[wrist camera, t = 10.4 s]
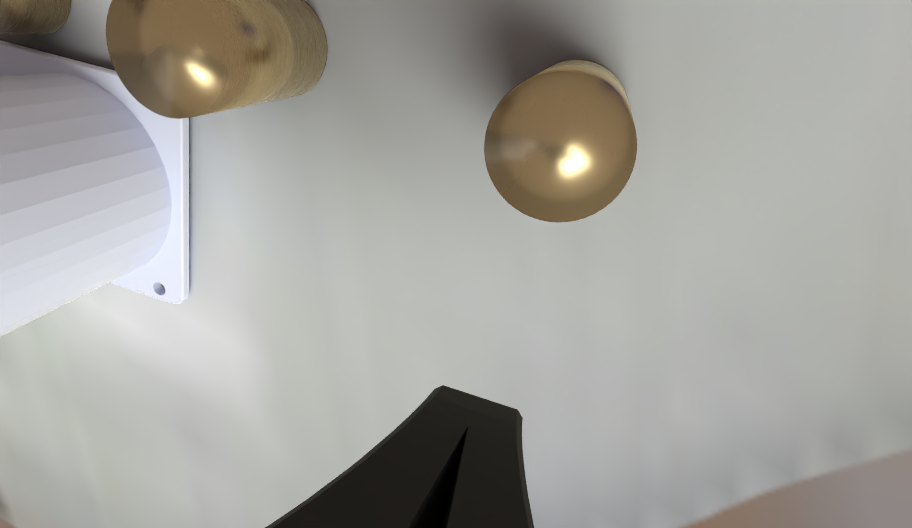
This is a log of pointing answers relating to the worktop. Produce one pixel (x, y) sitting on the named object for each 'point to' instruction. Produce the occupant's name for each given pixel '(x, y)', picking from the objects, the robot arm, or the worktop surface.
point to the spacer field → (302, 63)
